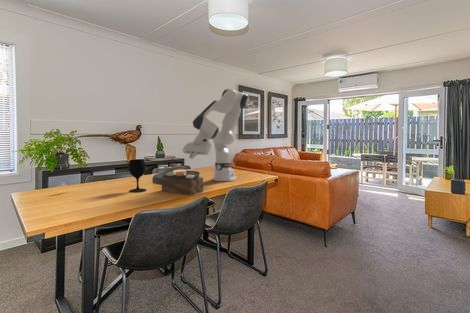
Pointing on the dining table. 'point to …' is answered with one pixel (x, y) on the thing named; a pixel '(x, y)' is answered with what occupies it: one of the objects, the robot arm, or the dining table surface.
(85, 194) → the dining table surface
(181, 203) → the dining table surface
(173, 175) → the sage button
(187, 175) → the cream button
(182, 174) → the terracotta button
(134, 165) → the wine glass
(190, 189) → the dark brown wooden box
